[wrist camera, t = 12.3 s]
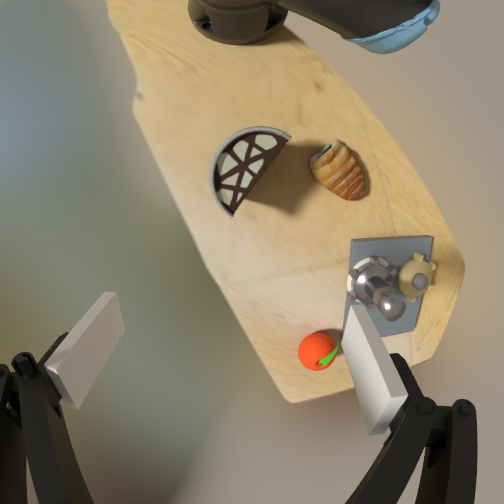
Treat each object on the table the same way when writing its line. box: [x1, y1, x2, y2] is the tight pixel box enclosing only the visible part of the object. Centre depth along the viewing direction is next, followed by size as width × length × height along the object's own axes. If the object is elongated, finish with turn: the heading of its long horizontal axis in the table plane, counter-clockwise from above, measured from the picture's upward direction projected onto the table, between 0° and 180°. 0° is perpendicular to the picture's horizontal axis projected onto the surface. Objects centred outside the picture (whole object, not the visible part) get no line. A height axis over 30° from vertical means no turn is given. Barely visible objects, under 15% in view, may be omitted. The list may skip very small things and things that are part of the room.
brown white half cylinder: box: [209, 126, 292, 218], centre depth 35 cm, size 12×6×10 cm, turn 144°
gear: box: [347, 256, 406, 322], centre depth 40 cm, size 9×8×10 cm
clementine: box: [298, 333, 339, 371], centre depth 48 cm, size 8×7×7 cm
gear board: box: [341, 235, 436, 339], centre depth 45 cm, size 20×18×5 cm
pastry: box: [310, 140, 365, 200], centre depth 39 cm, size 9×7×4 cm
